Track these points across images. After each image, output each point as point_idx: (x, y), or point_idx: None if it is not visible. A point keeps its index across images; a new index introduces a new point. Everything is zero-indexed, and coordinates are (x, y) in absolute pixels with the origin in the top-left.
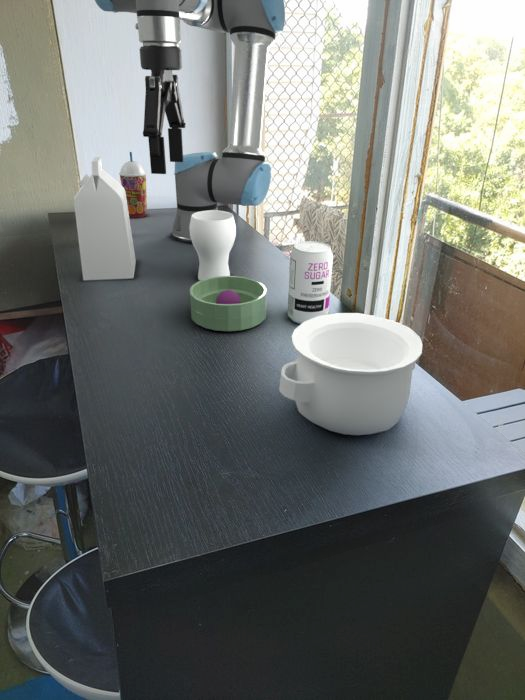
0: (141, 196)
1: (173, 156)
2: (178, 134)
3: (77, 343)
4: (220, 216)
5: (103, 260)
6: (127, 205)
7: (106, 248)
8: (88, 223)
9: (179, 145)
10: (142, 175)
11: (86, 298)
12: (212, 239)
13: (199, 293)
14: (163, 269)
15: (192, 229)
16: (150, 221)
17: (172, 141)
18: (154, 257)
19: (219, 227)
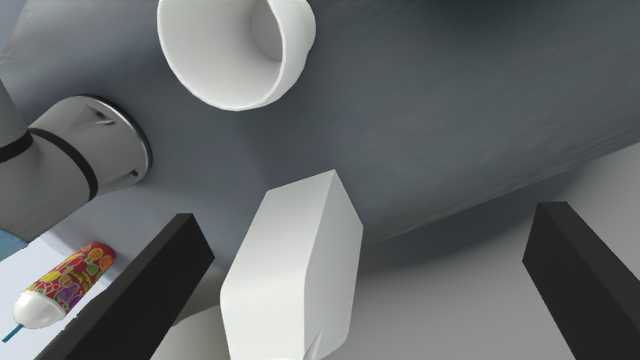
0: (74, 266)
1: (195, 262)
2: (90, 350)
3: (611, 148)
4: (171, 38)
5: (347, 222)
6: (103, 271)
7: (341, 230)
8: (345, 283)
9: (143, 284)
10: (36, 292)
11: (428, 200)
12: (302, 13)
13: None
14: (280, 139)
15: (290, 86)
16: (108, 228)
17: (150, 330)
18: (237, 172)
19: None
